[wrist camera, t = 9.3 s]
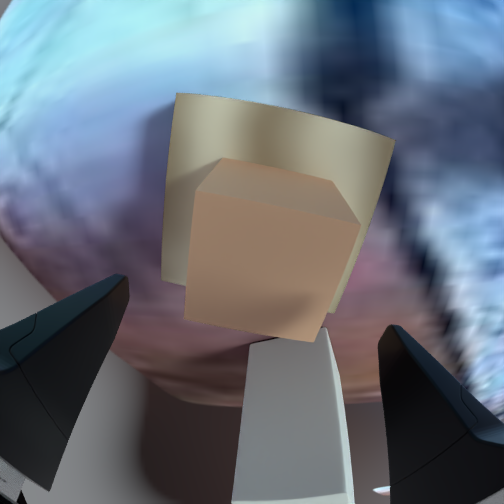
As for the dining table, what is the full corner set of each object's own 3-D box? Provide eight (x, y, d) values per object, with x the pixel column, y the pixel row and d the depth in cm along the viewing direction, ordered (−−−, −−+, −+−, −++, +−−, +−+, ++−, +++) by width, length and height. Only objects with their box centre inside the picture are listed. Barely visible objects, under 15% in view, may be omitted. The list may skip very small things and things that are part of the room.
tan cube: (332, 180, 16) (361, 225, 10) (304, 272, 18) (313, 342, 13) (222, 157, 15) (195, 190, 10) (208, 254, 18) (183, 318, 13)
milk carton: (249, 342, 27) (224, 553, 10) (326, 324, 25) (349, 550, 8) (273, 385, 30) (263, 557, 13) (338, 371, 28) (357, 550, 11)
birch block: (373, 131, 18) (395, 140, 14) (326, 281, 23) (334, 313, 20) (195, 93, 17) (176, 92, 14) (177, 252, 23) (160, 280, 20)
